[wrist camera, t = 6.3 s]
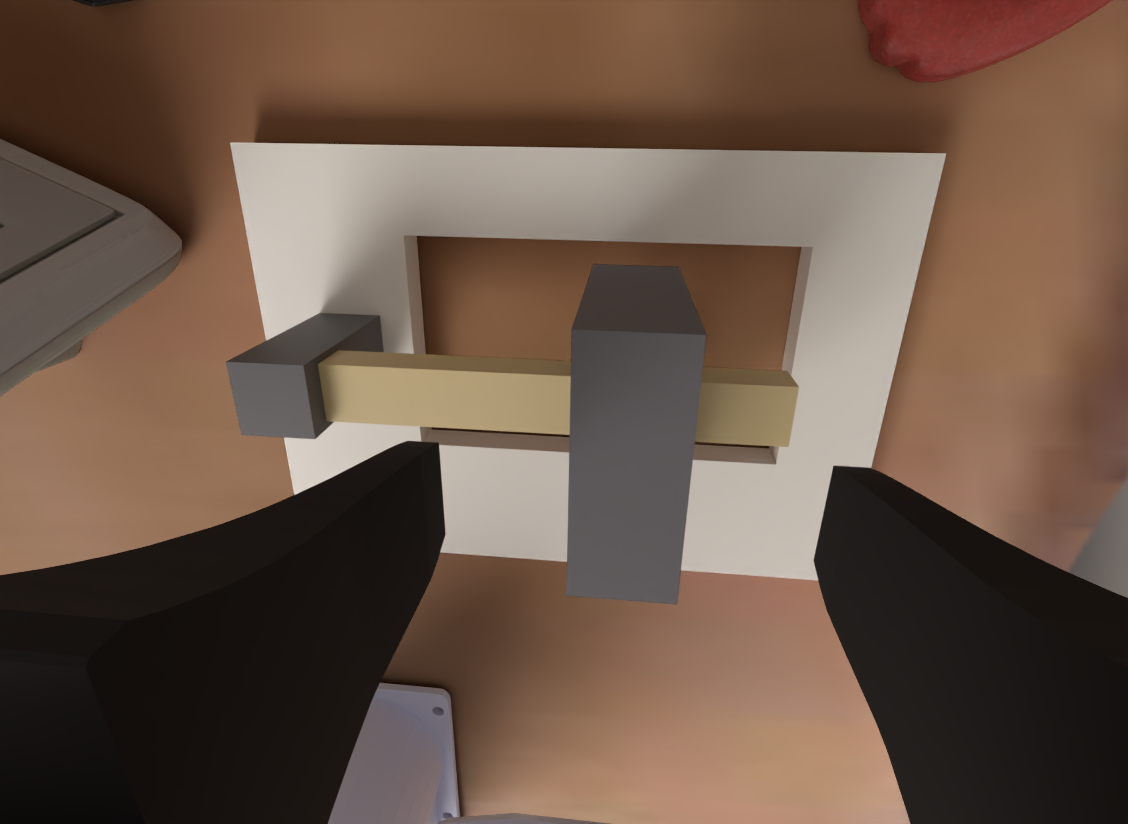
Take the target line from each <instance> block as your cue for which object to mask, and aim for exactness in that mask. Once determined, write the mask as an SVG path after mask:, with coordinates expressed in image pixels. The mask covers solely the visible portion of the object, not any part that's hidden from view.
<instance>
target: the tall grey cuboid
mask: <svg viewBox="0 0 1128 824" xmlns="http://www.w3.org/2000/svg"><path fill="white" fill-rule="evenodd" d="M705 344H706V333H705V330H704V328H703V325H702V323H701V320H700V318H699V316H698V313H697V311H696V308H695V306H694V303H693V301H692V298H691V296H690V293H689V291H688V289H687V286H686V284H685V281H684V279H683V276H682V274H681V271H680V269H679V267H671V266H640V265H608V264H593V267H592V270H591V273H590V276H589V279H588V282H587V285H586V288H585V291H584V294H583V297H582V300H581V303H580V306H579V309H578V312H577V315H576V318H575V321H574V324H573V327H572V336H571V387H570V438H569V488H568V539H567V589H566V596H576V597H589V598H601V599H614V600H627V601H639V602H652V603H665V604H677V601H678V592H679V582H680V573H681V564H682V555H683V546H684V537H685V527H686V518H687V509H688V500H689V491H690V481H691V472H692V463H693V454H694V445H695V436H696V426H697V417H698V408H699V399H700V390H701V381H702V371H703V362H704V353H705Z"/></svg>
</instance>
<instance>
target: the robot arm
mask: <svg viewBox="0 0 1128 824" xmlns="http://www.w3.org/2000/svg"><path fill="white" fill-rule="evenodd" d="M445 535H446V533H445V519H444V505H443V492H442V478H441V464H440V450H439V443H438V442H421V441H405V442H403V443H400V444H397V445H395V446H393V447H391V448H389V449H387V450H384V451H382V452H380V453H378V454H376V455H375V456H373V457H371V458H369V459H367V460H365V461H363V462H361V463H359V464H357V465H355V466H353V467H351V468H349V469H347V470H345V471H343V472H341V473H339V474H338V475H336V476H334V477H332V478H330V479H328V480H326V481H323V482H321V483H319V484H317V485H315V486H313V487H310V488H308V489H306V490H304V491H302V492H300V493H298V494H295V495H293V496H291V497H289V498H287V499H285V500H282V501H280V502H278V503H275V504H273V505H271V506H268V507H266V508H263V509H261V510H258V511H256V512H253V513H250V514H248V515H245V516H242V517H239V518H237V519H234V520H231V521H228V522H226V523H223V524H220V525H217V526H214V527H211V528H208V529H204V530H201V531H198V532H194V533H191V534H187V535H184V536H180V537H177V538H174V539H170V540H167V541H163V542H160V543H157V544H153V545H150V546H146V547H142V548H138V549H134V550H129V551H125V552H121V553H117V554H113V555H108V556H104V557H99V558H94V559H90V560H85V561H80V562H75V563H71V564H65V565H60V566H55V567H49V568H44V569H38V570H31V571H25V572H19V573H12V574H6V575H0V824H608V823H599V822H590V821H581V820H572V819H563V818H554V817H544V816H535V815H526V814H517V813H510V814H496V815H482V816H467V817H460V810H459V798H458V785H457V772H456V760H455V747H454V734H453V722H452V709H451V697H450V695H449V693H448V692H447V691H445V690H444V689H440V688H431V687H420V686H409V685H399V684H388V683H380V681H381V679H382V677H383V675H384V673H385V671H386V669H387V667H388V665H389V663H390V661H391V659H392V657H393V655H394V653H395V651H396V649H397V647H398V645H399V643H400V641H401V639H402V637H403V635H404V633H405V631H406V629H407V627H408V625H409V623H410V621H411V619H412V617H413V615H414V613H415V611H416V609H417V607H418V605H419V603H420V601H421V599H422V597H423V595H424V593H425V591H426V588H427V586H428V584H429V582H430V580H431V578H432V575H433V572H434V569H435V566H436V563H437V560H438V557H439V554H440V551H441V548H442V544H443V541H444V538H445ZM813 561H814V565H815V569H816V573H817V577H818V581H819V585H820V588H821V592H822V595H823V599H824V602H825V606H826V609H827V611H828V614H829V616H830V619H831V621H832V623H833V626H834V628H835V630H836V633H837V635H838V637H839V640H840V642H841V644H842V647H843V649H844V651H845V653H846V656H847V658H848V660H849V662H850V665H851V667H852V669H853V671H854V674H855V676H856V678H857V680H858V683H859V685H860V687H861V689H862V692H863V694H864V696H865V698H866V701H867V703H868V705H869V707H870V710H871V712H872V714H873V717H874V719H875V721H876V723H877V726H878V728H879V731H880V734H881V736H882V739H883V741H884V744H885V746H886V749H887V752H888V754H889V758H890V761H891V764H892V767H893V770H894V773H895V776H896V779H897V782H898V786H899V789H900V792H901V795H902V798H903V801H904V804H905V807H906V810H907V814H908V817H909V820H910V824H1128V598H1126V597H1124V596H1121V595H1119V594H1116V593H1114V592H1112V591H1109V590H1107V589H1105V588H1102V587H1100V586H1098V585H1096V584H1093V583H1091V582H1089V581H1087V580H1084V579H1082V578H1080V577H1077V576H1075V575H1073V574H1071V573H1068V572H1066V571H1064V570H1062V569H1059V568H1057V567H1055V566H1053V565H1051V564H1049V563H1047V562H1045V561H1043V560H1040V559H1038V558H1036V557H1034V556H1032V555H1030V554H1028V553H1026V552H1025V551H1023V550H1021V549H1019V548H1017V547H1015V546H1013V545H1011V544H1009V543H1007V542H1005V541H1003V540H1001V539H999V538H997V537H995V536H994V535H992V534H990V533H988V532H986V531H984V530H983V529H981V528H979V527H977V526H975V525H973V524H972V523H970V522H968V521H966V520H965V519H963V518H961V517H959V516H957V515H956V514H954V513H952V512H951V511H949V510H947V509H945V508H944V507H942V506H940V505H938V504H937V503H935V502H933V501H931V500H930V499H928V498H926V497H925V496H923V495H921V494H919V493H918V492H916V491H914V490H912V489H911V488H909V487H907V486H905V485H904V484H902V483H900V482H898V481H896V480H894V479H893V478H891V477H889V476H887V475H885V474H883V473H881V472H879V471H876V470H874V469H871V468H868V467H850V466H833V470H832V475H831V480H830V484H829V489H828V494H827V499H826V503H825V508H824V513H823V518H822V522H821V527H820V532H819V537H818V541H817V546H816V551H815V555H814V560H813ZM438 707H439V708H438Z"/></svg>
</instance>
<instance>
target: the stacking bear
mask: <svg viewBox="0 0 1128 824" xmlns="http://www.w3.org/2000/svg"><path fill="white" fill-rule="evenodd" d="M1110 1H1112V0H859V4H858V8H859V13H860V17H861V19H862V22H863V24H864V25H865V26H866V27H867V29H868V31H869V36H870V38H869V50H870V53H871V55H872V57H873V58H874V59H875V60H876V61H877V62H879V63H880V64H882V65H885V66H895V67H897V68H898V69H899V71H900V72H901V73H902V74H903V75H904V76H905V77H906V78H908V79H911V80H914V81H917V82H937V81H942V80H946V79H950V78H954V77H958V76H961V75H964V74H967V73H970V72H973V71H976V70H979V69H982V68H984V67H987V66H990V65H992V64H995V63H997V62H1000V61H1002V60H1005V59H1007V58H1009V57H1012V56H1014V55H1016V54H1019V53H1021V52H1023V51H1025V50H1027V49H1029V48H1031V47H1033V46H1035V45H1037V44H1039V43H1041V42H1043V41H1045V40H1047V39H1049V38H1051V37H1053V36H1055V35H1057V34H1059V33H1060V32H1062V31H1064V30H1066V29H1067V28H1069V27H1071V26H1073V25H1074V24H1076V23H1077V22H1079V21H1081V20H1082V19H1084V18H1086V17H1087V16H1089V15H1091V14H1092V13H1094V12H1095V11H1097V10H1098V9H1100V8H1101V7H1103V6H1104V5H1106V4H1107V3H1109V2H1110Z"/></svg>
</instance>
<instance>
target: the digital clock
mask: <svg viewBox="0 0 1128 824" xmlns="http://www.w3.org/2000/svg"><path fill="white" fill-rule="evenodd" d="M181 254H182V240H181V239H180V237H179V236H178V235H177V234H176V233H175V232H174V231H173V230H172V229H171V228H170V227H169V226H167V225H166V224H165V223H164V222H163V221H162V220H161V219H159V218H158V217H157V216H156V215H155V214H153V213H152V212H151V211H150V210H148V209H147V208H146V207H144V206H143V205H141V204H139V203H137V202H135V201H134V200H132V199H130V198H127V197H125V196H123V195H121V194H119V193H117V192H115V191H113V190H111V189H109V188H107V187H105V186H102V185H100V184H98V183H96V182H94V181H92V180H89V179H87V178H85V177H83V176H81V175H79V174H76V173H74V172H72V171H70V170H68V169H66V168H63V167H61V166H59V165H57V164H55V163H52V162H50V161H48V160H46V159H44V158H41V157H39V156H37V155H35V154H33V153H30V152H28V151H26V150H24V149H22V148H19V147H17V146H15V145H13V144H11V143H8V142H6V141H4V140H2V139H0V396H2V395H3V394H5V393H6V392H7V391H9V390H10V389H12V388H13V387H14V386H16V385H17V384H19V383H20V382H22V381H23V380H24V379H26V378H27V377H29V376H30V375H31V374H33V373H34V372H37V371H39V370H42V369H45V368H47V367H50V366H53V365H55V364H58V363H61V362H63V361H66V360H69V359H71V358H74V357H75V356H77V354H78V353H79V351H80V347H81V341H82V339H83V338H84V337H85V336H87V335H88V334H90V333H91V332H92V331H94V330H95V329H97V328H98V327H100V326H101V325H102V324H104V323H105V322H107V321H108V320H110V319H111V318H112V317H114V316H115V315H117V314H118V313H119V312H121V311H122V310H124V309H125V308H127V307H128V306H129V305H131V304H132V303H134V302H135V301H136V300H138V299H139V298H141V297H142V296H144V295H145V294H146V293H148V292H149V291H151V290H152V289H153V288H155V287H156V286H157V285H158V284H160V283H161V282H162V281H163V280H164V279H165V278H166V277H168V276H169V275H170V274H171V273H172V272H173V271H174V270H175V268H176V267H177V265H178V263H179V261H180V258H181Z"/></svg>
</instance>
